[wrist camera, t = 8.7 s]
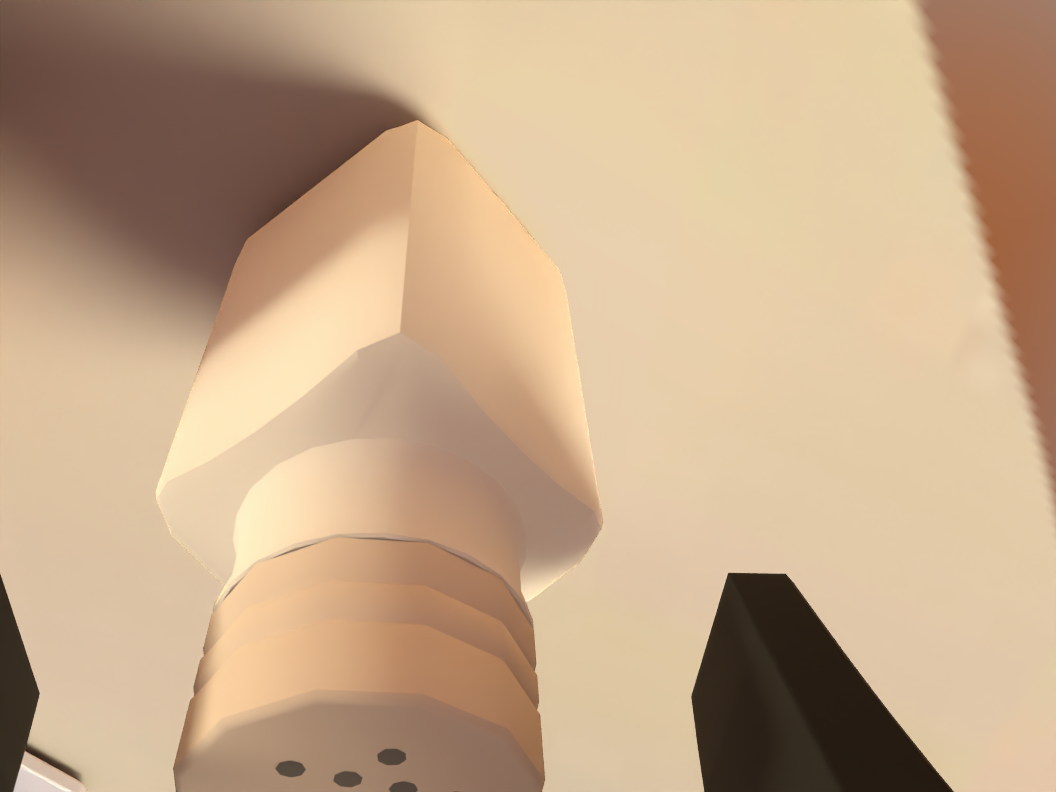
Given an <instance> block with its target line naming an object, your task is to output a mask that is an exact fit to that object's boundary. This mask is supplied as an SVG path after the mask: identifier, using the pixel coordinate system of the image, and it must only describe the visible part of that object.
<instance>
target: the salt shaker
mask: <svg viewBox="0 0 1056 792" xmlns="http://www.w3.org/2000/svg"><path fill="white" fill-rule="evenodd" d="M156 501H157V503H158V505H159V507H160V510H161V512H162V514H163V517H164V519H165V521H166V524H167V526H168V528H169V530H170V533H171V535H172V536H173V537H174V538H175V539H176V540H177V541H178V542H179V543H180V544H181V545H182V546H183V547H184V548H185V549H186V550H187V551H188V552H189V553H190V554H191V555H192V556H193V557H194V558H195V559H196V560H197V561H199V562H200V563H201V564H202V565H203V566H204V567H205V568H206V569H207V570H208V571H209V572H210V573H211V574H212V575H213V576H214V577H215V578H216V579H217V580H218V581H220V582H221V583H222V584H224V585H225V587H224V589H223V590H222V592H221V594H220V595H219V597H218V599H217V600H216V602H215V604H214V608H213V613H212V615H211V619H210V623H209V627H208V631H207V635H206V639H205V643H204V647H203V651H204V657H203V658H202V659H201V660H200V663H199V667H198V671H197V675H196V679H195V683H194V697H193V698H192V699H191V700H190V703H189V707H188V711H187V715H186V719H185V723H184V727H183V731H182V735H181V739H180V743H179V747H178V751H177V755H176V759H175V763H174V767H173V770H174V779H175V787H176V792H542V789H543V785H544V782H545V774H544V761H543V748H542V735H541V721H540V714H539V712H538V711H537V708H538V704H539V695H538V681H537V674H536V673H535V667H536V654H535V640H534V630H533V619H532V617H531V614H530V612H529V609H528V606H527V604H526V602H528V601H529V600H531V599H532V598H534V597H536V596H537V595H538V594H539V593H541V592H542V591H543V590H545V589H546V588H547V587H549V586H550V585H551V584H552V583H554V582H555V581H556V580H558V579H559V578H560V577H562V576H563V575H564V574H566V573H567V572H568V571H569V570H571V569H572V568H573V567H575V566H576V565H577V564H579V563H580V562H581V561H582V560H583V558H584V556H585V555H586V553H587V551H588V550H589V548H590V546H591V545H592V543H593V542H594V540H595V538H596V537H597V535H598V533H599V532H600V530H601V527H602V524H603V518H602V512H601V506H600V500H599V493H598V487H597V481H596V475H595V468H594V462H593V456H592V450H591V444H590V437H589V431H588V425H587V419H586V412H585V406H584V400H583V394H582V388H581V381H580V375H579V369H578V363H577V357H576V350H575V344H574V338H573V332H572V325H571V319H570V313H569V307H568V301H567V294H566V291H565V287H564V283H563V280H562V276H561V272H560V270H559V269H558V267H557V266H556V265H555V264H554V263H553V262H552V260H551V259H550V258H549V257H548V256H547V254H546V253H545V252H544V251H543V250H542V249H541V247H540V246H539V245H538V244H537V243H536V242H535V240H534V239H533V238H532V237H531V236H530V235H529V233H528V232H527V231H526V230H525V229H524V228H523V226H522V225H521V224H520V223H519V222H518V220H517V219H516V218H515V217H514V216H513V215H512V213H511V212H510V211H509V210H508V209H507V208H506V206H505V205H504V204H503V203H502V202H501V201H500V199H499V198H498V197H497V196H496V195H495V194H494V192H493V191H492V190H491V189H490V188H489V187H488V185H487V184H486V183H485V182H484V181H483V180H482V178H481V177H480V176H479V175H478V174H477V172H476V171H475V170H474V169H473V168H472V167H471V165H470V164H469V163H468V162H467V161H466V160H465V158H464V157H463V156H462V155H461V154H460V153H459V151H458V150H457V149H456V148H455V147H454V146H453V144H452V143H451V142H450V141H449V140H448V139H447V137H445V136H443V135H441V134H439V133H437V132H436V131H434V130H433V129H431V128H429V127H428V126H426V125H425V124H423V123H422V122H420V121H419V120H416V121H413V122H411V123H408V124H405V125H402V126H400V127H397V128H393V129H389V130H386V131H385V132H384V133H382V134H381V135H380V136H378V137H377V138H376V139H375V140H373V141H372V142H371V143H369V144H368V145H367V146H366V147H364V148H363V149H362V150H360V151H359V152H358V153H357V154H355V155H354V156H353V157H352V158H350V159H349V160H348V161H346V162H345V163H344V164H343V165H341V166H340V167H339V168H337V169H336V170H335V171H334V172H332V173H331V174H330V175H328V176H327V177H326V178H325V179H323V180H322V181H321V182H320V183H318V184H317V185H316V186H314V187H313V188H312V189H311V190H309V191H308V192H307V193H305V194H304V195H303V196H302V197H300V198H299V199H298V200H296V201H295V202H294V203H293V204H291V205H290V206H289V207H288V208H286V209H285V210H284V211H282V212H281V213H280V214H279V215H277V216H276V217H275V218H273V219H272V220H271V221H270V222H268V223H267V224H266V225H265V226H263V227H262V228H261V229H259V230H258V231H257V232H256V233H254V234H253V235H252V236H250V237H249V238H248V239H247V240H246V242H245V244H244V246H243V248H242V250H241V253H240V255H239V257H238V259H237V261H236V263H235V266H234V269H233V272H232V275H231V278H230V280H229V283H228V286H227V289H226V292H225V295H224V298H223V300H222V303H221V306H220V309H219V312H218V315H217V318H216V320H215V323H214V326H213V329H212V332H211V335H210V338H209V340H208V343H207V346H206V349H205V352H204V355H203V358H202V360H201V363H200V366H199V369H198V372H197V375H196V378H195V380H194V383H193V386H192V389H191V392H190V395H189V398H188V401H187V403H186V406H185V409H184V412H183V415H182V418H181V421H180V423H179V426H178V429H177V432H176V435H175V438H174V441H173V443H172V446H171V449H170V452H169V455H168V458H167V461H166V463H165V466H164V469H163V472H162V475H161V478H160V481H159V483H158V486H157V489H156Z"/></svg>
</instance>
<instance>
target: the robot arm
mask: <svg viewBox="0 0 1056 792" xmlns="http://www.w3.org/2000/svg"><path fill="white" fill-rule="evenodd" d="M39 694H40V693H39V690H38V687H37V684H36V681H35V678H34V675H33V672H32V669H31V666H30V663H29V660H28V657H27V654H26V651H25V648H24V645H23V641H22V638H21V635H20V632H19V629H18V626H17V623H16V620H15V617H14V614H13V611H12V608H11V605H10V602H9V599H8V596H7V593H6V590H5V587H4V584H3V581H2V578H1V575H0V792H87V791H88V790H87V788H86V786H85V785H84V784H83V783H81V782H80V781H79V780H77V779H75V778H73V777H71V776H70V775H68V774H66V773H64V772H62V771H61V770H59V769H57V768H55V767H53V766H51V765H50V764H48V763H46V762H44V761H42V760H41V759H39V758H37V757H35V756H33V755H31V754H30V753H28V752H26V751H25V749H26V745H27V741H28V737H29V733H30V729H31V726H32V722H33V718H34V714H35V710H36V706H37V702H38V698H39ZM691 697H692V705H693V713H694V721H695V729H696V736H697V744H698V751H699V758H700V765H701V772H702V778H703V785H704V792H954V791H953V790H952V789H951V788H950V787H949V785H948V784H947V783H946V782H945V781H944V779H943V778H942V777H941V776H940V775H939V773H938V772H937V771H936V770H935V768H934V767H933V766H932V765H931V763H930V762H929V761H928V760H927V758H926V757H925V756H924V755H923V753H922V752H921V751H920V750H919V748H918V747H917V746H916V745H915V744H914V742H913V741H912V740H911V739H910V737H909V736H908V735H907V734H906V732H905V731H904V730H903V729H902V727H901V726H900V725H899V724H898V722H897V721H896V720H895V719H894V717H893V716H892V715H891V713H890V712H889V711H888V710H887V708H886V707H885V706H884V704H883V703H882V702H881V700H880V699H879V698H878V697H877V695H876V694H875V693H874V691H873V690H872V689H871V687H870V686H869V685H868V683H867V682H866V681H865V679H864V678H863V677H862V675H861V674H860V673H859V671H858V670H857V669H856V667H855V666H854V665H853V663H852V662H851V661H850V659H849V658H848V657H847V655H846V654H845V653H844V651H843V650H842V649H841V647H840V646H839V645H838V643H837V642H836V640H835V639H834V638H833V636H832V635H831V634H830V632H829V631H828V630H827V628H826V627H825V625H824V624H823V623H822V621H821V620H820V619H819V617H818V616H817V614H816V613H815V612H814V610H813V609H812V608H811V606H810V605H809V603H808V602H807V601H806V599H805V598H804V597H803V595H802V594H801V592H800V591H799V590H798V588H797V587H796V586H795V584H794V583H793V582H792V580H791V579H790V578H789V577H788V576H787V575H786V574H758V573H728V576H727V579H726V582H725V586H724V589H723V592H722V596H721V599H720V602H719V606H718V609H717V612H716V616H715V619H714V622H713V626H712V629H711V632H710V636H709V639H708V642H707V646H706V649H705V652H704V656H703V659H702V662H701V666H700V669H699V673H698V676H697V679H696V683H695V686H694V689H693V693H692V696H691Z"/></svg>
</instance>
